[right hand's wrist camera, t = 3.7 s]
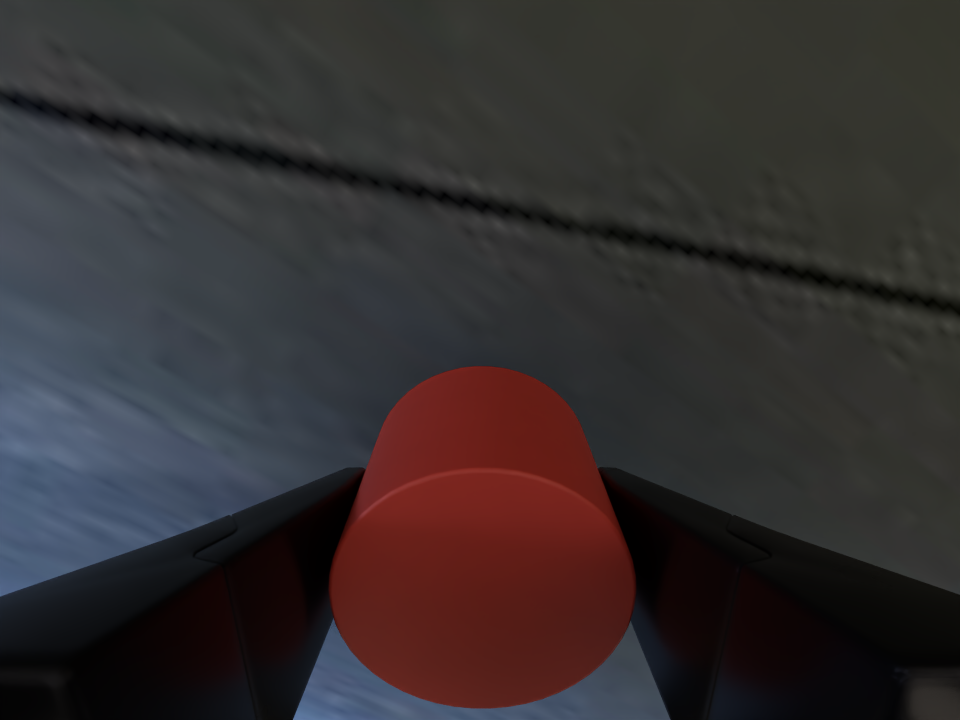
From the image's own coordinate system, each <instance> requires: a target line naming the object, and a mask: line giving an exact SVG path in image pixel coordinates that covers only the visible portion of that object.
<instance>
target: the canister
mask: <svg viewBox="0 0 960 720" xmlns="http://www.w3.org/2000/svg"><path fill="white" fill-rule="evenodd" d="M635 597H636V574H635V569H634V564H633V559H632V557H631V554H630V551H629V549H628V546H627V543H626V541H625V538H624V536H623V533H622V530H621V528H620V525H619V523H618V520H617V518H616V515H615V512H614V510H613V507H612V505H611V502H610V499H609V497H608V494H607V492H606V489H605V487H604V484H603V481H602V479H601V476H600V474H599V471H598V468H597V466H596V463H595V461H594V458H593V456H592V453H591V450H590V448H589V445H588V443H587V440H586V437H585V435H584V432H583V430H582V427H581V425H580V423H579V421H578V419H577V417H576V415H575V414H574V412H573V411H572V409H571V408H570V407H569V405H568V404H567V403H566V402H565V401H564V400H563V399H562V398H561V397H560V396H559V395H558V394H557V393H556V392H555V391H553V390H552V389H551V388H549V387H548V386H547V385H545V384H544V383H542V382H540V381H538V380H537V379H535V378H533V377H531V376H528V375H526V374H523V373H520V372H517V371H513V370H510V369H506V368H499V367H491V366H473V367H464V368H458V369H454V370H450V371H446V372H443V373H441V374H438V375H435V376H433V377H431V378H429V379H427V380H425V381H423V382H421V383H420V384H418V385H417V386H416V387H414V388H413V389H411V390H410V391H409V392H408V393H406V394H405V395H404V396H403V397H402V398H401V399H400V400H399V401H398V402H397V404H396V405H395V406H394V407H393V409H392V410H391V411H390V413H389V415H388V416H387V418H386V420H385V421H384V423H383V426H382V428H381V431H380V433H379V436H378V439H377V441H376V444H375V447H374V449H373V452H372V455H371V457H370V460H369V463H368V465H367V468H366V471H365V473H364V476H363V479H362V482H361V484H360V487H359V490H358V492H357V495H356V498H355V500H354V503H353V506H352V508H351V511H350V514H349V516H348V519H347V522H346V524H345V527H344V530H343V532H342V535H341V538H340V540H339V543H338V546H337V548H336V551H335V554H334V556H333V560H332V564H331V569H330V573H329V598H330V606H331V610H332V614H333V617H334V621H335V624H336V626H337V628H338V630H339V632H340V634H341V636H342V638H343V640H344V641H345V643H346V644H347V646H348V647H349V649H350V650H351V651H352V653H353V654H354V655H355V656H356V657H357V658H358V659H359V661H360V662H361V663H362V664H363V665H365V666H366V667H367V668H368V669H369V670H370V671H371V672H373V673H374V674H375V675H377V676H378V677H379V678H381V679H382V680H384V681H385V682H387V683H388V684H390V685H392V686H394V687H396V688H398V689H399V690H401V691H403V692H406V693H408V694H411V695H413V696H415V697H418V698H421V699H424V700H428V701H431V702H434V703H438V704H443V705H449V706H454V707H464V708H501V707H510V706H516V705H521V704H526V703H530V702H533V701H537V700H541V699H544V698H546V697H549V696H551V695H554V694H557V693H559V692H561V691H563V690H565V689H567V688H569V687H571V686H573V685H575V684H576V683H578V682H579V681H581V680H582V679H584V678H585V677H587V676H588V675H590V674H591V673H592V672H593V671H594V670H595V669H597V668H598V667H599V666H600V665H601V664H602V663H603V662H604V661H605V660H606V659H607V658H608V657H609V656H610V655H611V653H612V652H613V651H614V650H615V648H616V647H617V645H618V644H619V642H620V641H621V639H622V638H623V636H624V634H625V632H626V630H627V628H628V626H629V623H630V620H631V617H632V613H633V610H634V604H635Z"/></svg>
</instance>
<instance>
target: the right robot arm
mask: <svg viewBox="0 0 960 720" xmlns="http://www.w3.org/2000/svg"><path fill="white" fill-rule="evenodd" d="M365 471H366V470H365V469H364V468H362V467H356V468H345V469H343V470H340V471H338V472H335V473H333V474H330V475H328V476H325V477H323V478H321V479H318V480H316V481H313V482H311V483H308V484H306V485H303V486H301V487H298V488H296V489H294V490H291V491H289V492H286V493H284V494H281V495H279V496H276V497H274V498H271V499H269V500H267V501H264V502H262V503H259V504H257V505H254V506H252V507H249V508H247V509H244V510H242V511H240V512H237V513H235V514H232V516H230V515H228V516H226V517H223V518H221V519H218V520H216V521H213V522H211V523H208V524H205V525H203V526H200V527H198V528H195V529H193V530H190V531H187V532H184V533H182V534H179V535H176V536H173V537H170V538H168V539H165V540H162V541H159V542H156V543H153V544H151V545H148V546H145V547H142V548H139V549H136V550H133V551H130V552H128V553H125V554H122V555H119V556H116V557H113V558H110V559H107V560H104V561H102V562H99V563H96V564H93V565H90V566H87V567H84V568H81V569H79V570H76V571H73V572H70V573H67V574H64V575H61V576H58V577H55V578H53V579H50V580H47V581H44V582H41V583H38V584H35V585H32V586H30V587H27V588H24V589H21V590H18V591H15V592H12V593H9V594H7V595H4V596H1V597H0V720H293V718H294V715H295V713H296V710H297V708H298V705H299V703H300V700H301V698H302V695H303V693H304V690H305V688H306V685H307V683H308V680H309V678H310V675H311V673H312V670H313V668H314V665H315V663H316V660H317V658H318V655H319V653H320V650H321V648H322V645H323V643H324V640H325V638H326V635H327V633H328V630H329V628H330V625H331V623H332V620H333V618H334V617H333V614H332V610H331V606H330V598H329V573H330V569H331V564H332V560H333V556H334V554H335V551H336V548H337V546H338V543H339V540H340V538H341V535H342V532H343V530H344V527H345V524H346V522H347V519H348V516H349V514H350V511H351V508H352V506H353V503H354V500H355V498H356V495H357V492H358V490H359V487H360V484H361V482H362V479H363V476H364V473H365ZM598 471H599V474H600V476H601V479H602V481H603V484H604V487H605V489H606V492H607V494H608V497H609V499H610V502H611V505H612V507H613V510H614V512H615V515H616V518H617V520H618V523H619V525H620V528H621V530H622V533H623V536H624V538H625V541H626V543H627V546H628V549H629V551H630V554H631V557H632V559H633V564H634V569H635V574H636V597H635V604H634V610H633V613H632V617H631V623H632V625H633V628H634V630H635V633H636V635H637V638H638V640H639V643H640V645H641V648H642V650H643V653H644V655H645V658H646V660H647V662H648V665H649V667H650V670H651V672H652V675H653V677H654V680H655V682H656V685H657V687H658V690H659V692H660V695H661V697H662V700H663V702H664V704H665V707H666V709H667V712H668V714H669V717H670V719H671V720H960V595H959V594H956V593H953V592H950V591H947V590H944V589H941V588H938V587H935V586H933V585H930V584H927V583H924V582H921V581H918V580H915V579H912V578H909V577H906V576H904V575H901V574H898V573H895V572H892V571H889V570H886V569H883V568H880V567H877V566H875V565H872V564H869V563H866V562H863V561H860V560H857V559H854V558H851V557H848V556H845V555H843V554H840V553H837V552H834V551H831V550H828V549H825V548H822V547H819V546H816V545H814V544H811V543H808V542H805V541H802V540H799V539H796V538H794V537H791V536H788V535H785V534H782V533H780V532H777V531H774V530H771V529H769V528H766V527H764V526H761V525H758V524H756V523H753V522H751V521H748V520H745V519H743V518H741V517H738V516H736V515H733V516H732V515H731V514H729V513H726V512H724V511H721V510H719V509H716V508H714V507H712V506H709V505H707V504H704V503H702V502H699V501H697V500H694V499H692V498H689V497H687V496H684V495H682V494H679V493H677V492H674V491H672V490H669V489H667V488H664V487H662V486H659V485H657V484H655V483H652V482H650V481H647V480H645V479H642V478H640V477H637V476H635V475H632V474H630V473H627V472H625V471H622V470H620V469H617V468H606V467H601V468H598Z"/></svg>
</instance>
